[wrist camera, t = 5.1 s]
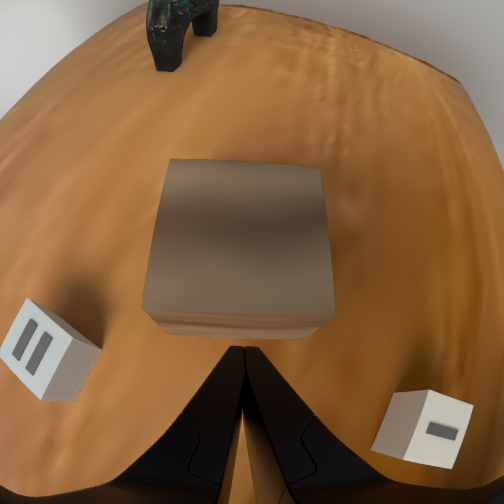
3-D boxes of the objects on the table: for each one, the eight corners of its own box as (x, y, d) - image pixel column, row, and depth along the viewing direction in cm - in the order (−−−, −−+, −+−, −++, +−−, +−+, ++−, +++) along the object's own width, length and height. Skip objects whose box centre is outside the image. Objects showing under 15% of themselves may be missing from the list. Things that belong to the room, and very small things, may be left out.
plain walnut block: (302, 340, 22) (335, 315, 15) (168, 334, 21) (141, 307, 15) (297, 224, 26) (319, 167, 20) (182, 218, 26) (170, 158, 19)
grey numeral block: (74, 401, 18) (39, 399, 13) (33, 364, 19) (-4, 353, 14) (102, 350, 20) (72, 337, 15) (59, 316, 21) (26, 296, 16)
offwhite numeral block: (415, 461, 17) (452, 469, 13) (369, 449, 18) (404, 459, 13) (435, 407, 20) (474, 405, 15) (393, 392, 20) (430, 389, 16)
